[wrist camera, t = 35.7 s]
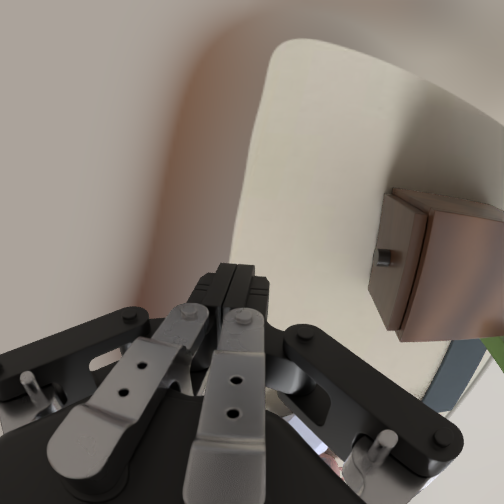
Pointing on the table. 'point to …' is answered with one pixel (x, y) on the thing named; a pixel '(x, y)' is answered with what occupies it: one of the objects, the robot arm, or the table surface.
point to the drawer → (396, 258)
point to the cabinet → (456, 271)
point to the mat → (454, 374)
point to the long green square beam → (495, 349)
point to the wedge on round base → (306, 433)
